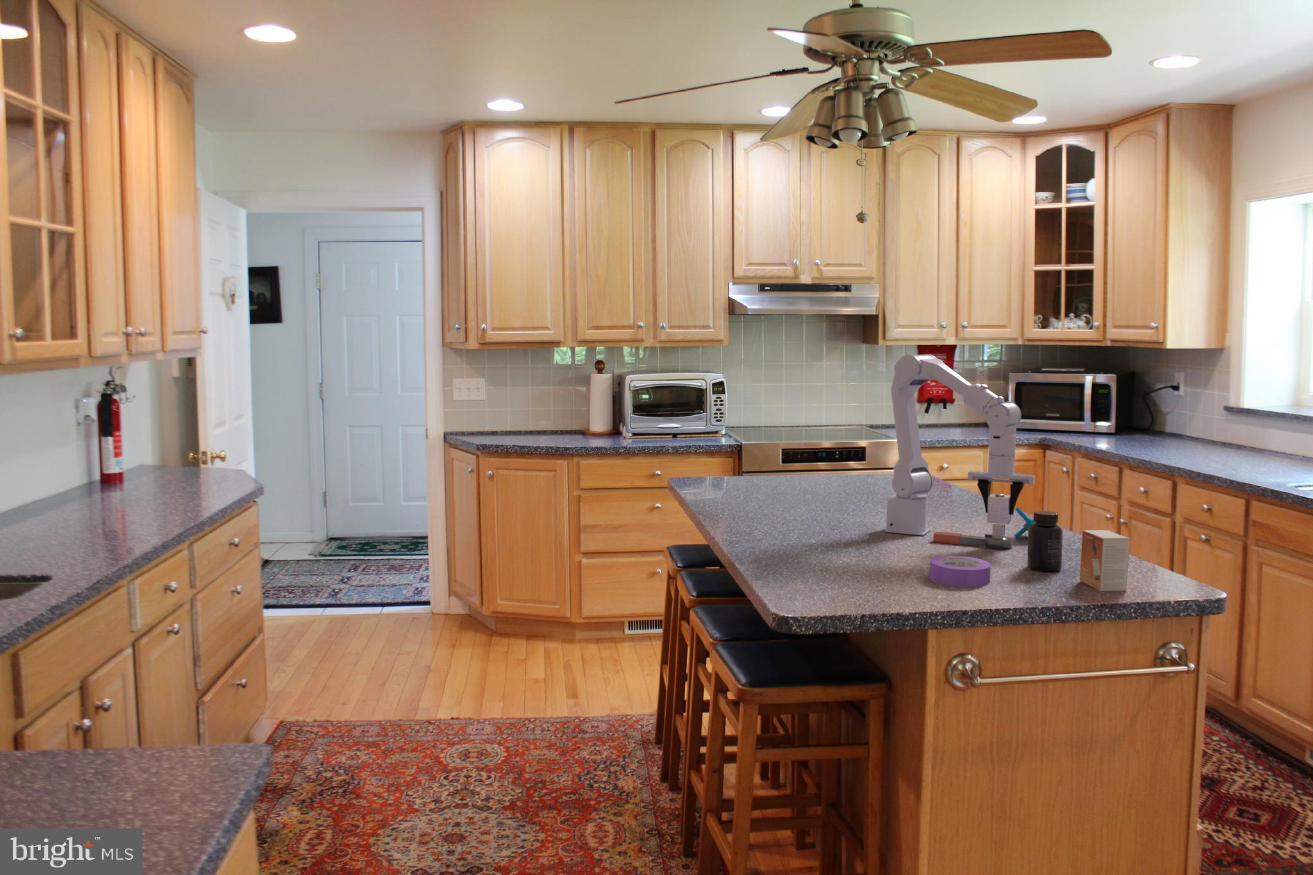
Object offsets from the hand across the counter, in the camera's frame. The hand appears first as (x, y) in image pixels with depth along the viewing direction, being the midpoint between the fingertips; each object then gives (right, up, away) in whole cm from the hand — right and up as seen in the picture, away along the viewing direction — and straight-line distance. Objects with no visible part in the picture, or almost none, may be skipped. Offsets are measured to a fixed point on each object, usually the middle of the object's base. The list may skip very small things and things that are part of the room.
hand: (999, 513), depth 233 cm
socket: (0, -2, 0) cm, 2 cm away
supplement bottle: (+2, -10, -20) cm, 23 cm away
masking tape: (-18, -12, -30) cm, 37 cm away
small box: (+9, -12, -35) cm, 38 cm away
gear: (+11, -7, +11) cm, 17 cm away
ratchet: (-5, -8, +3) cm, 10 cm away
